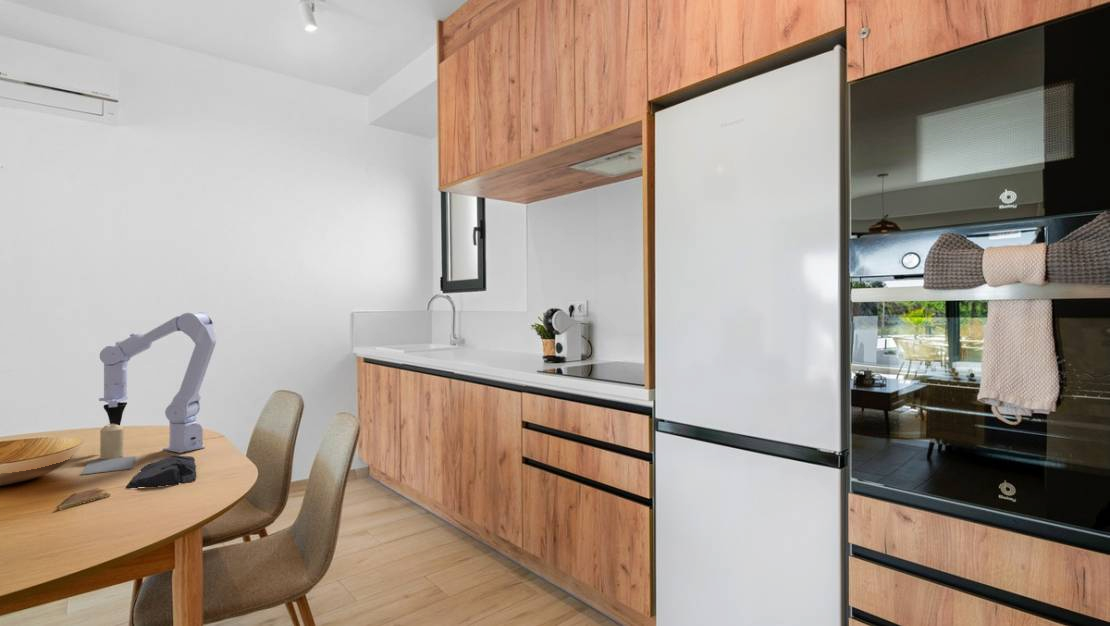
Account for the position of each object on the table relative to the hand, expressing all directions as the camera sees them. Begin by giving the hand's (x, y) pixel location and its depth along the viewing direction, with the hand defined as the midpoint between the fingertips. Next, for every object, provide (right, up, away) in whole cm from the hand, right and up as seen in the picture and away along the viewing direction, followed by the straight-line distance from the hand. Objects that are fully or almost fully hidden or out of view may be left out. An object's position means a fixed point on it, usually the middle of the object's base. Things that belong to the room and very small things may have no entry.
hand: (115, 426), depth 175 cm
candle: (+5, -8, -7) cm, 12 cm away
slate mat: (+11, -8, -16) cm, 21 cm away
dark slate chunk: (+33, -9, -24) cm, 42 cm away
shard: (+28, -9, -44) cm, 53 cm away
